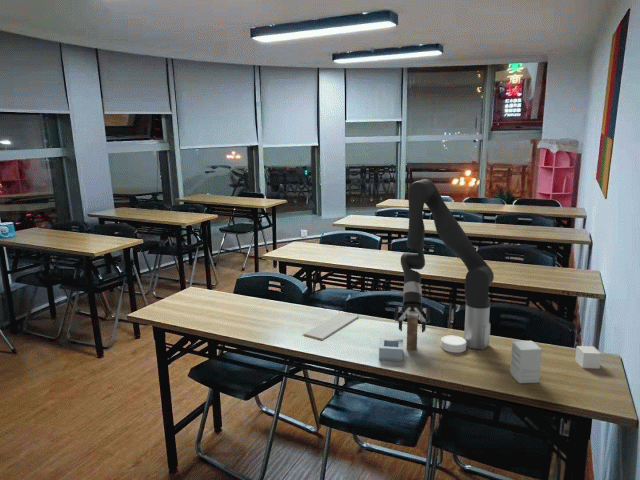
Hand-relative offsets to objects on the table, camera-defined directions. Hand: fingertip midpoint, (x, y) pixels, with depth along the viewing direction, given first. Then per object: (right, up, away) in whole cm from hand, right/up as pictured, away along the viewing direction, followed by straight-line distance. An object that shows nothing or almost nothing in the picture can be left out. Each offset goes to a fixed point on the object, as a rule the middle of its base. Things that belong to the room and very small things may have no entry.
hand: (412, 331), depth 185 cm
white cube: (+63, -10, -13) cm, 65 cm away
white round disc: (+17, -8, +3) cm, 19 cm away
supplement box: (+35, -12, -22) cm, 43 cm away
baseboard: (-32, -4, +27) cm, 42 cm away
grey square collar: (-9, -9, -4) cm, 13 cm away
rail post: (0, -7, +3) cm, 8 cm away
